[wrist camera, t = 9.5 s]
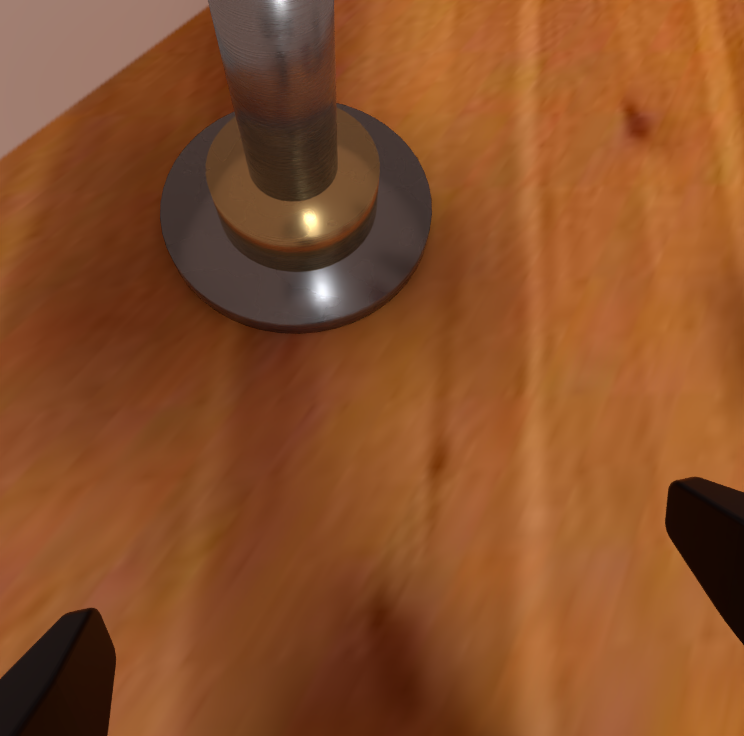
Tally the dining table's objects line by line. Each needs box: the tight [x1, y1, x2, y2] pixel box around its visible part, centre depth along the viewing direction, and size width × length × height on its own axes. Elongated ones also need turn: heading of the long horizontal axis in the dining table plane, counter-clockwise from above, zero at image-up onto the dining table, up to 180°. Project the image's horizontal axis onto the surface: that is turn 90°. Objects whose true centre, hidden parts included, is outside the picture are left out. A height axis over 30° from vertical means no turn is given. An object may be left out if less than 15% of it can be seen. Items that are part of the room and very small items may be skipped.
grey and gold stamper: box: [206, 0, 380, 272], centre depth 20 cm, size 7×7×12 cm
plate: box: [160, 103, 432, 334], centre depth 26 cm, size 12×12×1 cm
